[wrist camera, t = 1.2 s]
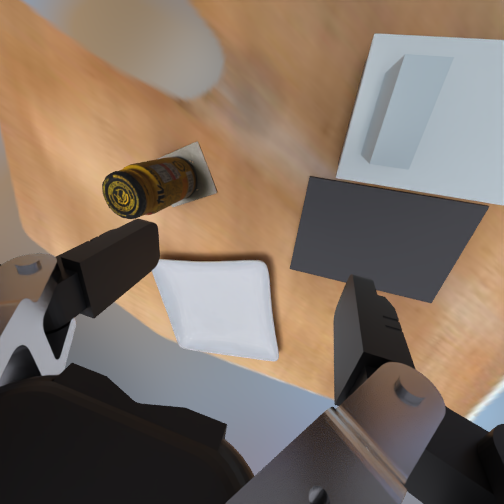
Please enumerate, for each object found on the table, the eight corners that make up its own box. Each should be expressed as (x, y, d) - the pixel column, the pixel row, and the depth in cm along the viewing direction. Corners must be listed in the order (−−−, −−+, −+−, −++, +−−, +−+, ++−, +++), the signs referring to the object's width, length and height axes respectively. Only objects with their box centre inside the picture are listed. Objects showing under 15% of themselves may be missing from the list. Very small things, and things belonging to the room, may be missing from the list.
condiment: (152, 161, 37) (83, 175, 27) (198, 141, 34) (139, 148, 23) (173, 206, 40) (117, 235, 29) (218, 192, 36) (173, 219, 26)
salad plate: (282, 349, 47) (279, 364, 44) (186, 337, 54) (178, 350, 51) (271, 251, 38) (266, 261, 35) (158, 250, 45) (146, 259, 42)
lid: (335, 173, 25) (337, 192, 18) (370, 41, 20) (391, -3, 13) (498, 200, 22) (574, 234, 15) (587, 54, 17) (760, 7, 10)
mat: (309, 176, 32) (309, 177, 31) (487, 205, 28) (489, 206, 27) (290, 267, 38) (289, 268, 38) (430, 301, 35) (431, 303, 34)
